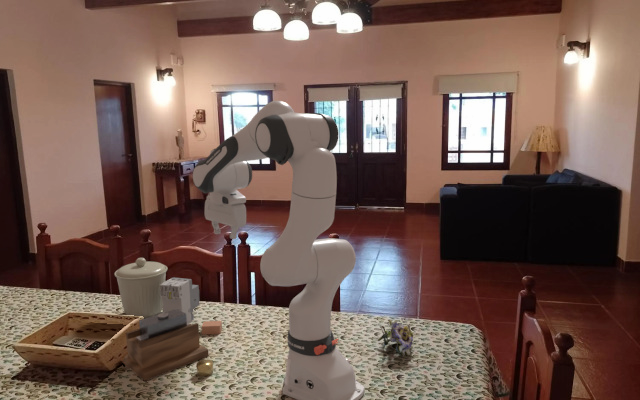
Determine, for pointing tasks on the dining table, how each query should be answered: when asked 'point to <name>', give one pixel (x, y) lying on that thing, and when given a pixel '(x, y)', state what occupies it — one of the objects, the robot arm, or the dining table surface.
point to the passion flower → (398, 337)
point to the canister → (141, 287)
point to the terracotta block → (211, 327)
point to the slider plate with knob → (161, 324)
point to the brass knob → (204, 368)
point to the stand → (163, 351)
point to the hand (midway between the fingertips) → (225, 236)
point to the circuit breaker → (180, 296)
